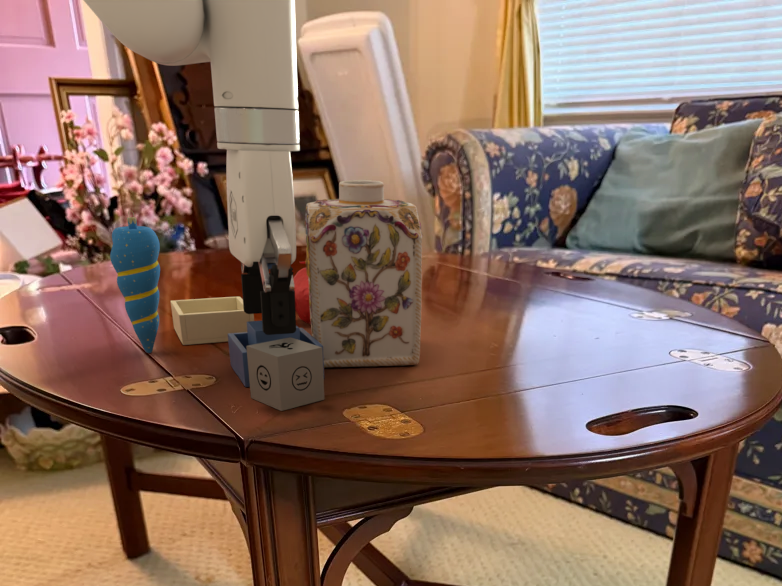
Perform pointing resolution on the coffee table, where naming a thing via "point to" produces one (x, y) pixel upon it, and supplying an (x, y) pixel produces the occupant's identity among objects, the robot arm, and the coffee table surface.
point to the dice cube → (286, 373)
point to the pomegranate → (302, 295)
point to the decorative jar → (364, 277)
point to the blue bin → (240, 352)
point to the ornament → (138, 277)
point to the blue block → (259, 336)
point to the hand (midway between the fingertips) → (268, 322)
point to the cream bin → (209, 319)
